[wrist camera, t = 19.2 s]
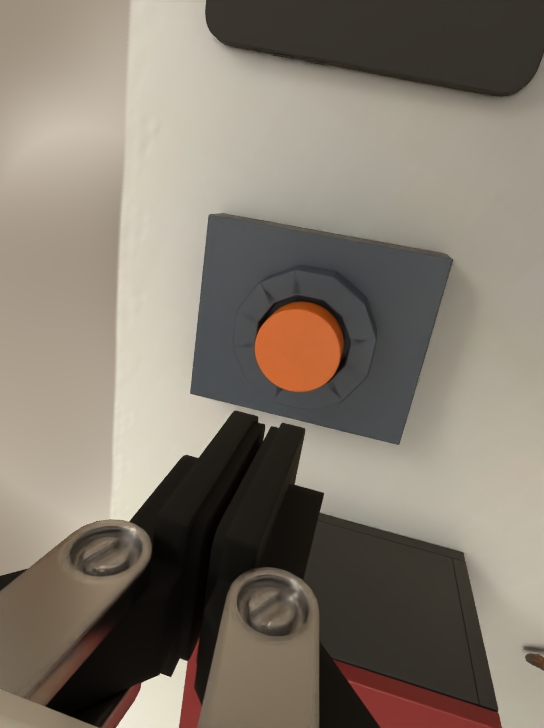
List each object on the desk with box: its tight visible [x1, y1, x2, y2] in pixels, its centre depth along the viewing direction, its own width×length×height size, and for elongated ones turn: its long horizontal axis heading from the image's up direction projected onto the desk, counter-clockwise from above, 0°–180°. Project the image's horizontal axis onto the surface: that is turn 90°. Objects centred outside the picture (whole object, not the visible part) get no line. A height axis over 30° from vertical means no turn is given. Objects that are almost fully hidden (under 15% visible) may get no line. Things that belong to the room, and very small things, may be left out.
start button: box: [255, 301, 344, 392], centre depth 23 cm, size 4×4×2 cm
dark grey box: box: [303, 513, 498, 712], centre depth 29 cm, size 17×14×10 cm
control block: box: [190, 213, 453, 445], centre depth 25 cm, size 12×10×4 cm
